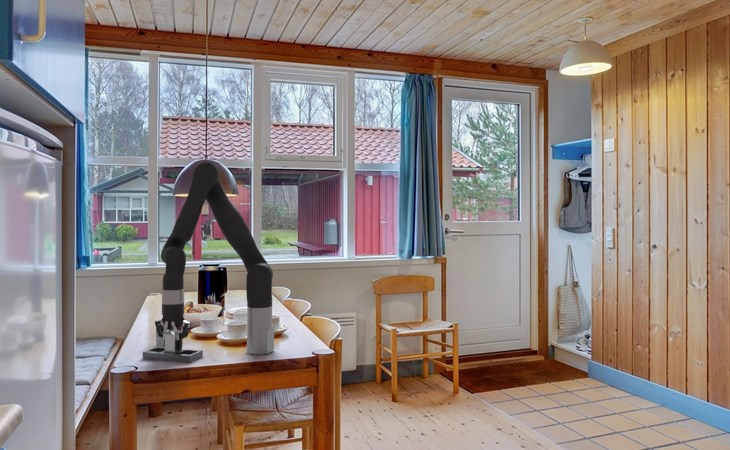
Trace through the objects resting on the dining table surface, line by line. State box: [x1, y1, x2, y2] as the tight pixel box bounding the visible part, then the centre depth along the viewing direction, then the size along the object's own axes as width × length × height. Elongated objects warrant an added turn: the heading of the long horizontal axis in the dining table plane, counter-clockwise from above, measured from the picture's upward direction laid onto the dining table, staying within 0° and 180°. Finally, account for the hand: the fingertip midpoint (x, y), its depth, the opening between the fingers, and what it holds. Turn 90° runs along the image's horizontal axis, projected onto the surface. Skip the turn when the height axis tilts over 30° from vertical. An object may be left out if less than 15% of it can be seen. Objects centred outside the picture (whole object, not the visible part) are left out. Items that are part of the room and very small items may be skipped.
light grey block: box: [165, 332, 181, 354], centre depth 184 cm, size 4×4×7 cm
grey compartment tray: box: [142, 346, 204, 364], centre depth 184 cm, size 19×8×2 cm, turn 76°
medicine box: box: [155, 324, 174, 347], centre depth 203 cm, size 8×4×9 cm, turn 168°
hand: (173, 349), depth 184 cm, fingers closed on light grey block, 4 cm apart
